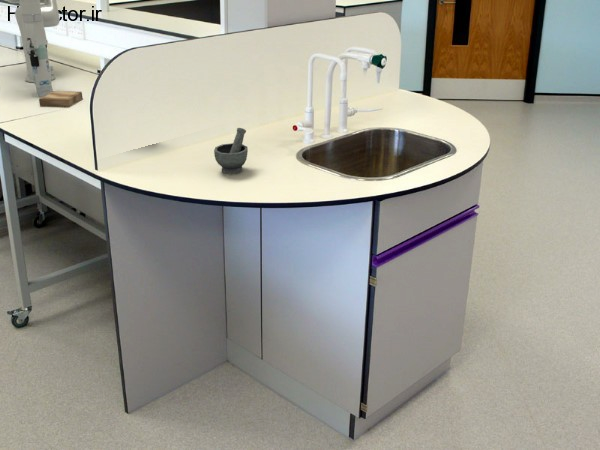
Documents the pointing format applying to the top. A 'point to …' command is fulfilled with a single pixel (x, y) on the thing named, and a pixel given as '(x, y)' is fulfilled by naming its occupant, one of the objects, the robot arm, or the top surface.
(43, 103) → the square brown tray
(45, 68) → the pale blue bottle
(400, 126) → the top surface
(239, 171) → the mortar and pestle
